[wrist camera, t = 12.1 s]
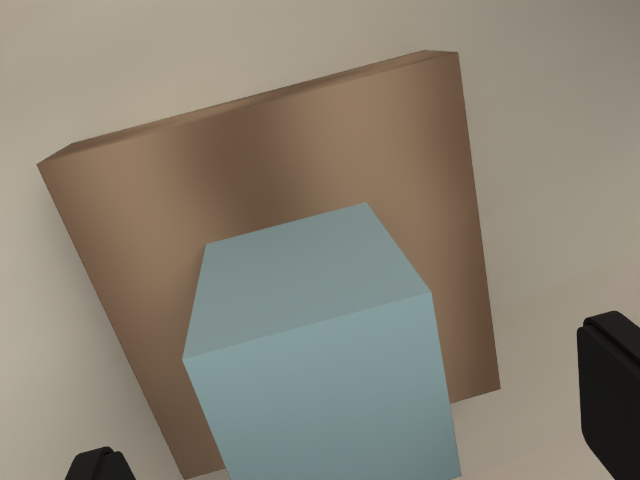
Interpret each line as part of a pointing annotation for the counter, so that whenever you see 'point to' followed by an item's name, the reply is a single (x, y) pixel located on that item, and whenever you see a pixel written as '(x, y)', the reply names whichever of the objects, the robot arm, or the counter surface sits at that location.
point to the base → (278, 213)
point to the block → (320, 355)
